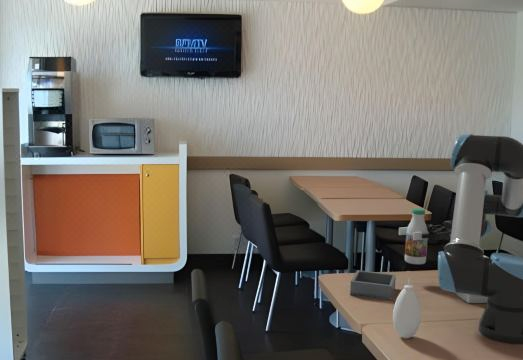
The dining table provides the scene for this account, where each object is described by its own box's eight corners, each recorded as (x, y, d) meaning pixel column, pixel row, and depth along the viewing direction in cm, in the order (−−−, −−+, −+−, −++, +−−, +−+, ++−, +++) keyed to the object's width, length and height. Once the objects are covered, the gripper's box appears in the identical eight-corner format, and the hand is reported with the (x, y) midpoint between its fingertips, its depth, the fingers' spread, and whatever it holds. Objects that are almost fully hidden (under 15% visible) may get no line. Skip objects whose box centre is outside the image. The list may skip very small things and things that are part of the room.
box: (391, 300, 201) (391, 286, 200) (350, 295, 205) (350, 281, 205) (394, 288, 214) (395, 274, 214) (356, 283, 218) (357, 270, 218)
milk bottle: (403, 258, 224) (406, 206, 221) (424, 259, 223) (428, 207, 220) (405, 264, 217) (409, 210, 214) (427, 265, 216) (431, 211, 213)
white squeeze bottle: (390, 330, 175) (393, 272, 172) (417, 332, 174) (421, 273, 172) (393, 341, 167) (397, 280, 165) (421, 343, 166) (425, 282, 164)
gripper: (473, 246, 217) (423, 250, 208) (436, 233, 235) (388, 237, 226) (475, 225, 216) (425, 229, 207) (437, 215, 234) (390, 218, 225)
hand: (406, 233), depth 216 cm, fingers closed on milk bottle, 8 cm apart
